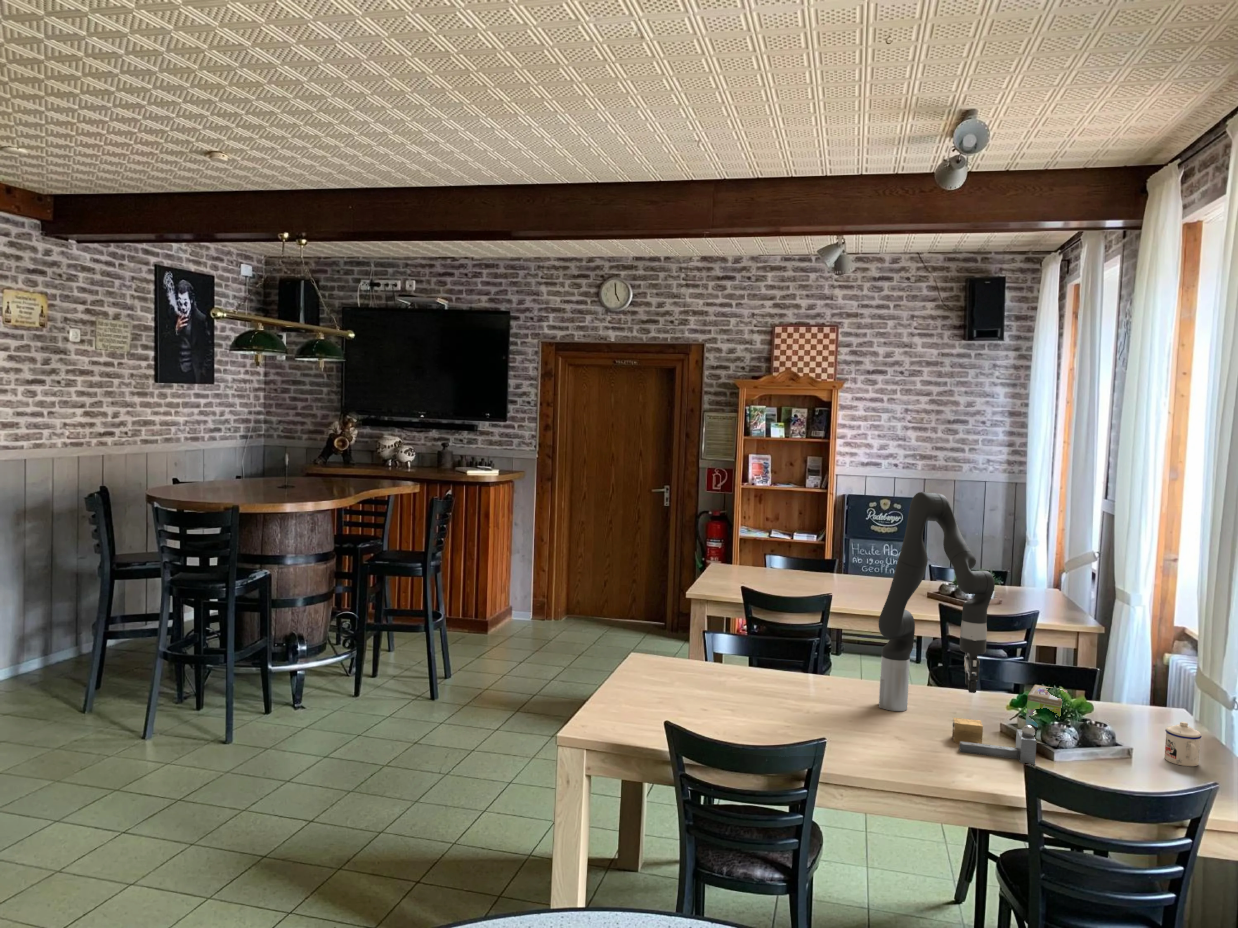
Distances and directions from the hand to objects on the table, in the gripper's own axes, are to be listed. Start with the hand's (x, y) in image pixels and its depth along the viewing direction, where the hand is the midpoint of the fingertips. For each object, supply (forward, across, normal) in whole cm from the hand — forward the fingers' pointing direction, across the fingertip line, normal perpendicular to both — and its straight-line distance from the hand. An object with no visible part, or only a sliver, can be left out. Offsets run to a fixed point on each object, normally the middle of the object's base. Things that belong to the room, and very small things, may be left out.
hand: (970, 688), depth 285 cm
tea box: (+16, -12, +24) cm, 31 cm away
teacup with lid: (+16, -2, +60) cm, 62 cm away
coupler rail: (+16, +10, +7) cm, 20 cm away
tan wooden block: (+16, 0, 0) cm, 16 cm away
